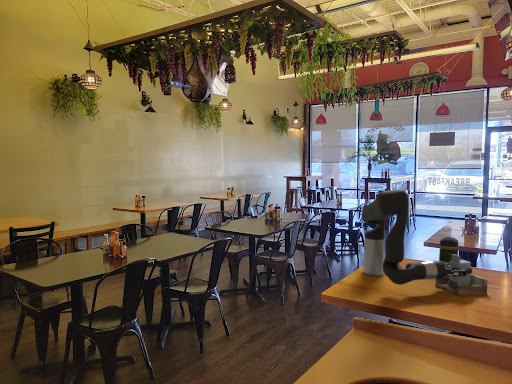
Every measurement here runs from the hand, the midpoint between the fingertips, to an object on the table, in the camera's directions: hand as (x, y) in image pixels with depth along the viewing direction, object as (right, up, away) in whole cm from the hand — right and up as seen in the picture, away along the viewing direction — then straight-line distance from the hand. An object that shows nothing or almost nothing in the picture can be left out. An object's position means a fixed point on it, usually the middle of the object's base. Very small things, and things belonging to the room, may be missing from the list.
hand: (463, 268), depth 166 cm
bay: (-1, -9, 0) cm, 9 cm away
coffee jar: (+3, -8, +20) cm, 22 cm away
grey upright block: (-2, -8, 0) cm, 8 cm away
